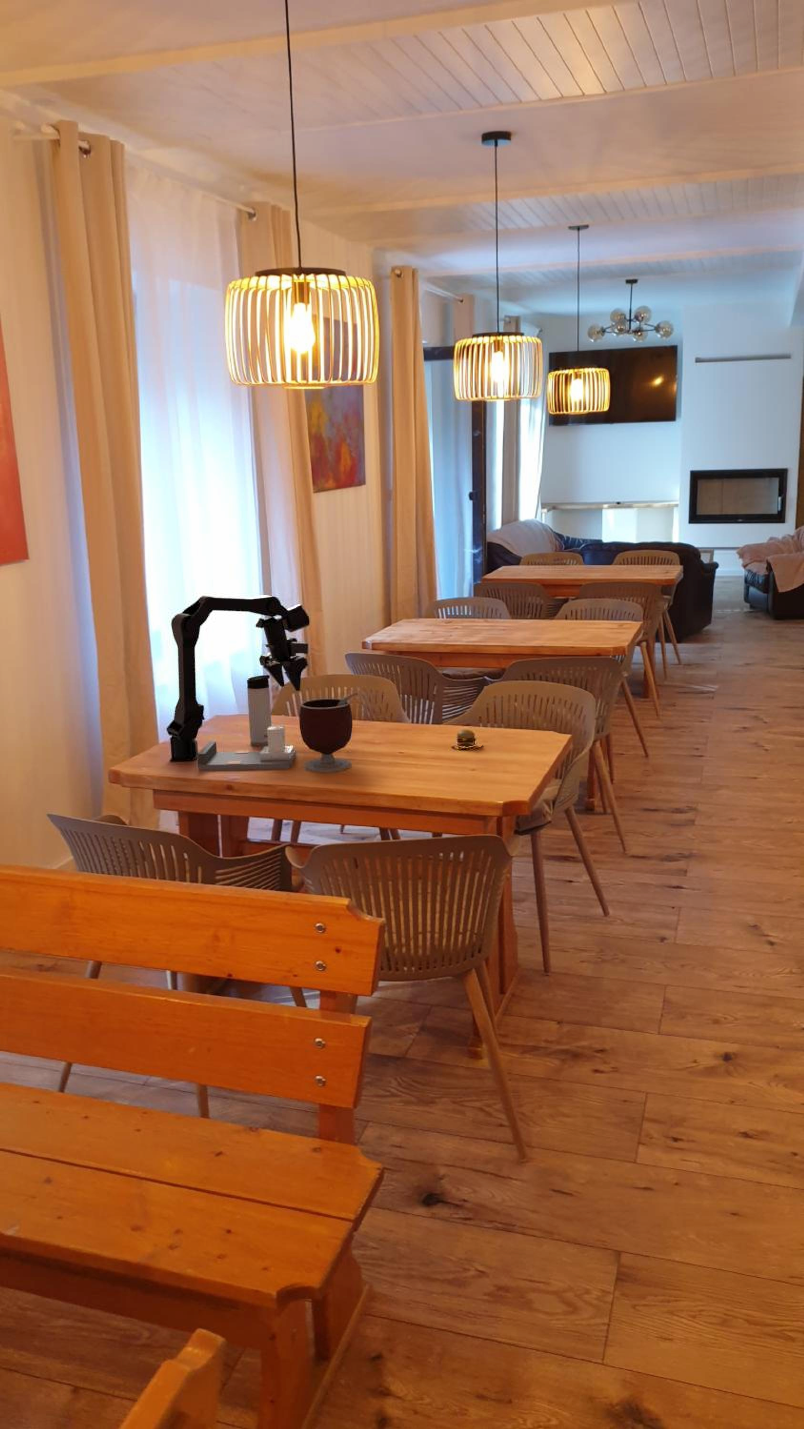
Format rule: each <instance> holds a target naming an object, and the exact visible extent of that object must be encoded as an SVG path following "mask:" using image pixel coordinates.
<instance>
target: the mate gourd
mask: <svg viewBox="0 0 804 1429" xmlns="http://www.w3.org/2000/svg"><path fill="white" fill-rule="evenodd" d="M355 696H358V693H357V692H356V691H355V692H352V693H350V694H348V695H346V696H345V697H343V698H334V697H333V698H332V697H331V698H326V697H325V698H315V699H309V700H306V701H302V702H300V709H299V716H298V718H299V719H298V720H299V730H300V735H301V736H300V737H301V739H302V742H303V743H304V744H305V745H306V747H308V749H309V750H312V751H314V752H318V753H320V754H321V758H318V759H313V760H309V761H307V762H305V764H304V769H305V770H307V771H309V772H314V773H335V772H336V771H337V772H341V770H342V771H344V769H346V770H348V769H350V768H351V767H350V766H352V762H351V761H350V760H348V759H344V758H336V757H334V755H333V753H336V752H338V751H340V750H342V749H344V748H346V746H347V745H348V743H349V742H350V740H351V737H352V733H353V713H352V709H351V704H350V701H349V700H350V699H351V698H352V697H355ZM349 767H350V768H349ZM347 768H348V769H347Z"/></svg>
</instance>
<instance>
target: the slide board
mask: <svg viewBox="0 0 804 1429" xmlns="http://www.w3.org/2000/svg"><path fill="white" fill-rule="evenodd" d="M217 750H218V748H217V741H212V740H211V741H207V743H206V744H205V745H204V746H203V747H202V749H200V750H199V751H198V756H197V765H198V768H197V769H198V771H231V770H232V771H239V770H240V771H245V770H250V771H251V770H252V771H253V770H289V769H290V768H291V766H292V764H293V762H294V760H295V759H296V756H297V750H294V754H293V756H292V758H291V759H290V760H273V761H260V752H261V751H262V750H256V751H255V750H253V751H251V750H237V751H217Z"/></svg>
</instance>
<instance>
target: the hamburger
mask: <svg viewBox="0 0 804 1429" xmlns="http://www.w3.org/2000/svg"><path fill="white" fill-rule="evenodd" d="M475 736H476V734H475V732H473V730H469V729H461V730H459V731H458V732H457V734H456V743H457V745H458V746H462V747H463V746H465V747H469V746H473V745H475V746H476V743H475V742H476V741H477V738H476V737H475ZM457 745H456V746H457ZM458 746H457V747H458Z"/></svg>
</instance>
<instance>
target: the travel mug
mask: <svg viewBox="0 0 804 1429" xmlns="http://www.w3.org/2000/svg"><path fill="white" fill-rule="evenodd" d="M270 678H271V675H270V674H266V675H265V674H264V675H257V676H256V675H255V676H252V677H249V678H248V679H247V680H246V684H247V685H246V686H247V688H246V690H247V704H248V705H247V708H248V720H249V721H248V724H249V739H250V745H252V746H255V747H265V746H268V736H267V729H268V728H269V726H272V713H271V694H270V684H269V683H270V682H269V679H270Z"/></svg>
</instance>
